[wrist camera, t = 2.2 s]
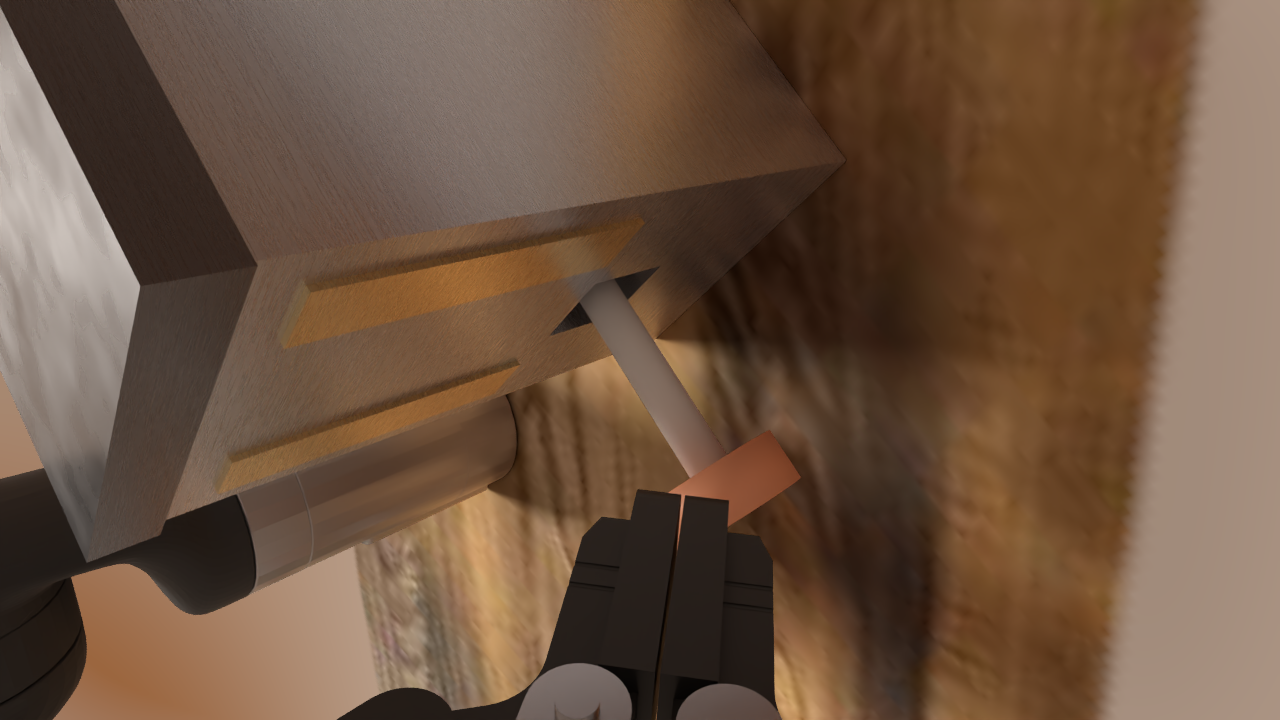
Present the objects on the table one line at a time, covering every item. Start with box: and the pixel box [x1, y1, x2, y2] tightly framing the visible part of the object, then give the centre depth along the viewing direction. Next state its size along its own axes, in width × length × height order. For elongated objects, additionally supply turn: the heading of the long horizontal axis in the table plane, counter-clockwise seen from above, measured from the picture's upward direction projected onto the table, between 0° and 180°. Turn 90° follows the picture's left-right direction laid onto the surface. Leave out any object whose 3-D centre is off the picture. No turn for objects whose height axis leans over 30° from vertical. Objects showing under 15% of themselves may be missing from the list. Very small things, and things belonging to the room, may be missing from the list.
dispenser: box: [0, 0, 846, 563], centre depth 29 cm, size 13×15×26 cm
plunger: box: [580, 279, 801, 549], centre depth 30 cm, size 14×5×5 cm, turn 44°
